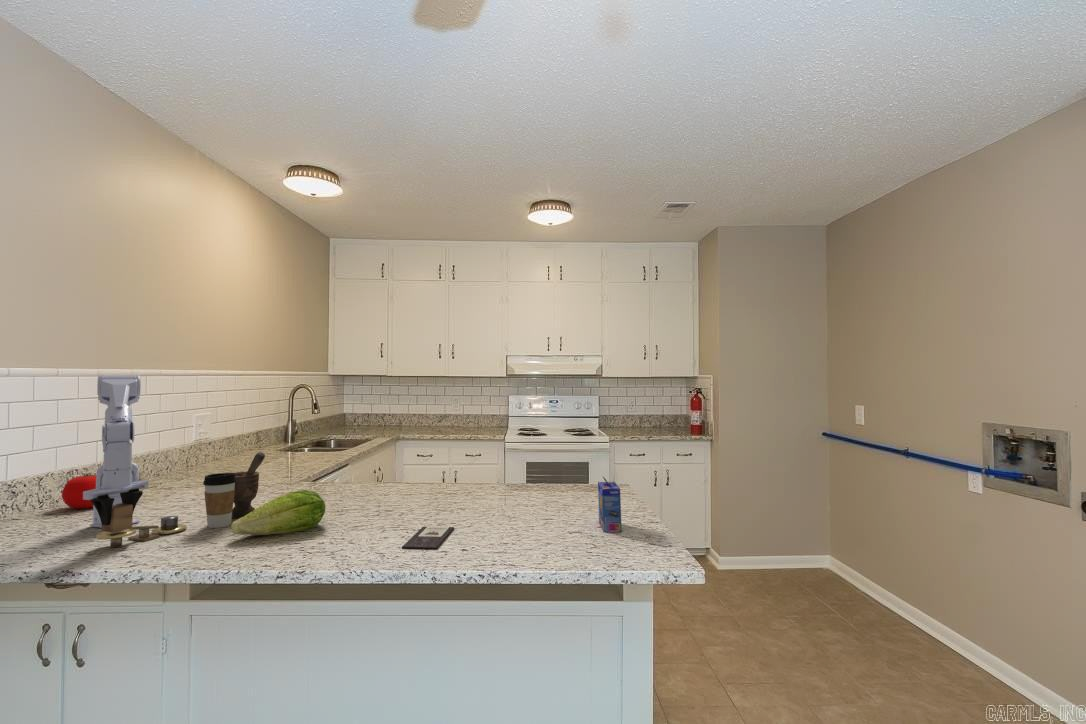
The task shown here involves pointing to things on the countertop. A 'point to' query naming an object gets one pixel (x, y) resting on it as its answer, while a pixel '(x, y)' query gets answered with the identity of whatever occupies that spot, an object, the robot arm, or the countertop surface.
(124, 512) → the walnut block
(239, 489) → the mortar and pestle
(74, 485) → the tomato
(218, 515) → the coffee cup
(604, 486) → the ink cartridge box
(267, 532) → the lettuce
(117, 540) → the balance
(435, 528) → the chocolate bar
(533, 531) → the countertop surface
